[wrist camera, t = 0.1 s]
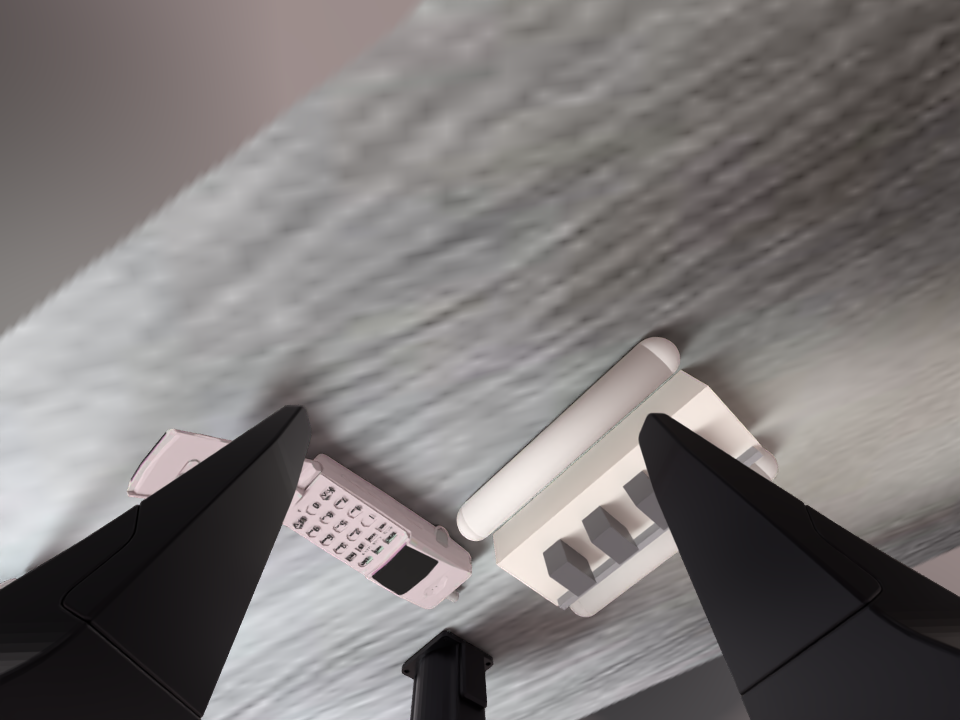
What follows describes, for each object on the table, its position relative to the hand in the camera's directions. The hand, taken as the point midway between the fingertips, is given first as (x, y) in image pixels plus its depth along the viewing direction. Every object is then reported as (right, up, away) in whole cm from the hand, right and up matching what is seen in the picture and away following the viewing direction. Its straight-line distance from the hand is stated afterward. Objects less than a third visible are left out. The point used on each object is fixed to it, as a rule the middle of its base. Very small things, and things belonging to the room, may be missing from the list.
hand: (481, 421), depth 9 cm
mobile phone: (-10, -10, +20) cm, 24 cm away
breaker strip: (+10, -8, +20) cm, 24 cm away
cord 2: (+6, -4, +18) cm, 20 cm away
